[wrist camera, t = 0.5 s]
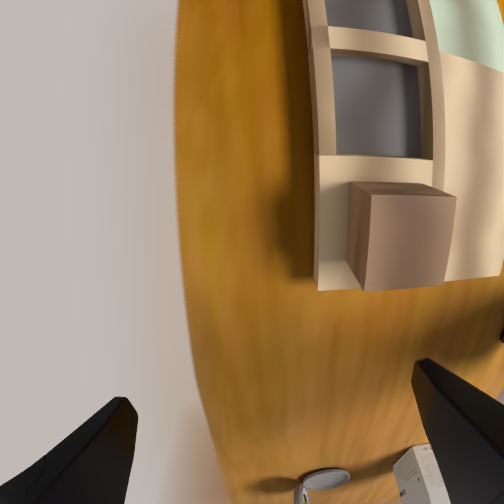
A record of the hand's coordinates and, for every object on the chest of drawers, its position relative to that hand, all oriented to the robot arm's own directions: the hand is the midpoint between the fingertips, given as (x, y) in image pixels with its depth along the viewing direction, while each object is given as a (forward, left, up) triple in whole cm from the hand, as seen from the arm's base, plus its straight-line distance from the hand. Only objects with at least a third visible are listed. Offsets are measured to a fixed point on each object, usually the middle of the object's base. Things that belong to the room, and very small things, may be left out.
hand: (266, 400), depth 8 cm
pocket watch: (-6, +35, -14) cm, 38 cm away
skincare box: (-20, +33, -14) cm, 41 cm away
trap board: (-11, -9, -13) cm, 20 cm away
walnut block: (-8, -2, -11) cm, 14 cm away
